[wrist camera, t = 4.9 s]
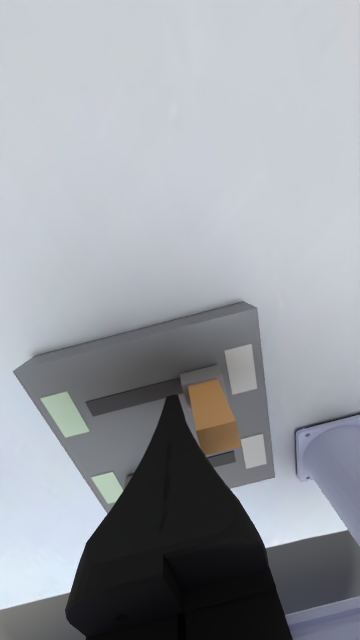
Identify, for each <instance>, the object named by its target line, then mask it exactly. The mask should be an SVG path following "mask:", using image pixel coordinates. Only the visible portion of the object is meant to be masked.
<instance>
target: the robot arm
mask: <svg viewBox="0 0 360 640" xmlns="http://www.w3.org/2000/svg"><path fill="white" fill-rule="evenodd" d="M296 452H297V477H298V479H299V480H300V481H302V482H303V481H308V480H312V479H314V480H315V482H316V483H317V485H318V486H319V488H320V489H321V491H322V492H323V494H324V495H325V497H326V498H327V499H328V501H329V502H330V504H331V505H332V507H333V508H334V510H335V511H336V513H337V514H338V516H339V517H340V518H341V520H342V521H343V523H344V524H345V526H346V527H347V529H348V530H349V532H350V533H351V534H352V536H353V537H354V539H355V540H356V542H357V543H358V545H359V546H360V415H356V416H352V417H348V418H344V419H340V420H336V421H332V422H329V423H325V424H321V425H317V426H313V427H309V428H305V429H301V430H298V431H297V432H296ZM65 612H66V618H67V620H68V621H69V623H70V624H71V625H73V626H74V627H75V628H76V629H78V630H79V631H80V632H81V633H82V634H84V635H85V636H86V640H360V596H359V597H355V598H351V599H347V600H343V601H339V602H335V603H331V604H327V605H323V606H319V607H315V608H311V609H307V610H303V611H299V612H295V613H291V614H287V615H285V614H284V611H283V609H282V606H281V603H280V600H279V597H278V594H277V591H276V586H275V583H274V580H273V577H272V574H271V571H270V568H269V565H268V559H267V553H266V549H265V546H264V543H263V541H262V539H261V537H260V535H259V533H258V531H257V529H256V528H255V526H254V524H253V522H252V521H251V519H250V518H249V516H248V514H247V513H246V511H245V509H244V508H243V506H242V504H241V503H240V501H239V500H238V499H237V497H236V496H235V495H234V494H233V493H232V491H231V490H230V489H229V488H228V486H227V485H226V484H225V482H224V481H223V480H222V478H221V477H220V476H219V474H218V473H217V472H216V470H215V469H214V467H213V466H212V465H211V463H210V462H209V460H208V459H207V457H206V456H205V454H204V453H203V451H202V450H201V448H200V446H199V445H198V443H197V441H196V440H195V438H194V436H193V434H192V432H191V431H190V429H189V427H188V425H187V423H186V420H185V415H184V412H183V409H182V406H181V403H180V400H179V396H178V395H177V394H174V395H170V396H167V397H166V399H165V403H164V406H163V410H162V413H161V416H160V418H159V421H158V424H157V427H156V429H155V431H154V434H153V436H152V438H151V441H150V443H149V445H148V447H147V449H146V452H145V454H144V455H143V457H142V459H141V461H140V463H139V465H138V467H137V468H136V470H135V472H134V474H133V476H132V477H131V479H130V481H129V482H128V484H127V486H126V487H125V489H124V490H123V492H122V493H121V495H120V496H119V498H118V499H117V501H116V502H115V504H114V506H113V507H112V508H111V510H110V511H109V513H108V514H107V516H106V517H105V518H104V520H103V521H102V522H101V524H100V525H99V526H98V528H97V529H96V531H95V532H94V533H93V535H92V536H91V537H90V539H89V540H88V541H87V543H86V545H85V548H84V551H83V554H82V556H81V559H80V562H79V565H78V568H77V571H76V575H75V578H74V582H73V585H72V589H71V592H70V595H69V599H68V602H67V606H66V609H65Z"/></svg>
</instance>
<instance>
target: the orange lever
mask: <svg viewBox="0 0 360 640" xmlns="http://www.w3.org/2000/svg"><path fill="white" fill-rule="evenodd" d="M180 378H181V386H182V389H183V393H184V396H185V399H186V403H187V406H188V409H189V410H192V413H193V418H194V424H195V430H196V434H197V437H198V440H199V444H200V447H201V450H202V451H203V453H204V454H205V455H209V454H213V453H217V452H221V451H225V450H229V449H233V448H237V447H241V445H240V440H239V434H238V429H237V424H236V420H235V418H234V415H233V413H232V411H231V409H230V406H229V404H228V402H227V401H228V399H227V394H226V389H225V384H224V379H223V374H222V372H221V370H220V368H219V366H218V365H214V366H210V367H207V368H203V369H199V370H195V371H191V372H187V373H183V374H180Z"/></svg>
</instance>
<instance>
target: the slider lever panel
mask: <svg viewBox="0 0 360 640" xmlns="http://www.w3.org/2000/svg"><path fill="white" fill-rule="evenodd" d="M214 365H218V366H219V368H220V370H221V372H222V374H223V379H224V384H225V389H226V394H227V399H228V401H227V402H228V404H229V406H230V409H231V411H232V413H233V415H234V418H235V420H236V424H237V429H238V434H239V440H240V445H241V447H237V448H233V449H229V450H225V451H221V452H217V453H213V454H209V455H205V456H206V457H207V459H208V460H209V462H210V463H211V465H212V466H213V467H214V469H215V470H216V472H217V473H218V474H219V476H220V477H221V478H222V480H223V481H224V482H225V484H226V485H227V486H228V488H229V489H230V488H234V487H238V486H242V485H246V484H250V483H254V482H258V481H262V480H266V479H270V478H274V477H275V473H274V464H273V454H272V445H271V435H270V426H269V416H268V407H267V398H266V388H265V379H264V369H263V360H262V350H261V341H260V332H259V322H258V313H257V308H256V307H254V306H252V305H250V304H248V303H246V302H241V303H237V304H234V305H230V306H226V307H222V308H218V309H214V310H210V311H207V312H203V313H199V314H195V315H191V316H187V317H184V318H180V319H176V320H172V321H168V322H164V323H161V324H157V325H153V326H149V327H145V328H141V329H137V330H134V331H130V332H126V333H122V334H118V335H114V336H111V337H107V338H103V339H99V340H95V341H91V342H87V343H84V344H80V345H76V346H72V347H68V348H64V349H61V350H57V351H53V352H49V353H45V354H41V355H37V356H34V357H33V358H31V359H30V360H28V361H27V362H25V363H24V364H23V365H21V366H20V367H18V368H17V369H15V370H14V371H13V372H14V374H15V375H16V377H17V378H18V380H19V382H20V383H21V385H22V386H23V388H24V389H25V391H26V392H27V394H28V395H29V397H30V398H31V400H32V401H33V403H34V404H35V406H36V407H37V409H38V410H39V412H40V413H41V415H42V416H43V418H44V419H45V421H46V422H47V424H48V425H49V427H50V428H51V430H52V431H53V433H54V434H55V436H56V437H57V439H58V440H59V442H60V443H61V445H62V446H63V448H64V449H65V451H66V452H67V454H68V455H69V457H70V458H71V460H72V461H73V463H74V464H75V466H76V467H77V469H78V470H79V472H80V473H81V475H82V476H83V478H84V479H85V481H86V482H87V484H88V485H89V487H90V488H91V490H92V491H93V493H94V494H95V496H96V497H97V499H98V500H99V502H100V503H101V505H102V506H103V508H104V509H105V511H106V512H107V514H108V513H109V511H110V510H111V508H112V507H113V506H114V504H115V502H116V501H117V499H118V498H119V496H120V495H121V493H122V492H123V490H124V485H125V479H126V477H129V476H133V474H134V472H135V470H136V468H137V467H138V465H139V463H140V461H141V459H142V457H143V455H144V454H145V452H146V449H147V447H148V445H149V443H150V441H151V438H152V436H153V434H154V431H155V429H156V427H157V424H158V421H159V418H160V416H161V413H162V410H163V406H164V403H165V399H166V397H167V396H170V395H174V394H177V395H178V396H179V400H180V403H181V406H182V409H183V412H184V415H185V420H186V423H187V425H188V427H189V429H190V431H191V432H192V434H193V436H194V438H195V440H196V441H197V443H198V445H199V446H200V444H199V440H198V437H197V434H196V430H195V424H194V418H193V413H192V410H189V409H188V406H187V403H186V399H185V396H184V393H183V389H182V386H181V378H180V374H183V373H187V372H191V371H195V370H199V369H203V368H207V367H210V366H214ZM200 448H201V447H200Z"/></svg>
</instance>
